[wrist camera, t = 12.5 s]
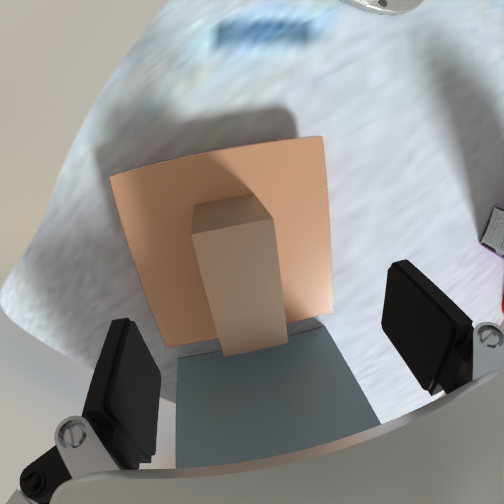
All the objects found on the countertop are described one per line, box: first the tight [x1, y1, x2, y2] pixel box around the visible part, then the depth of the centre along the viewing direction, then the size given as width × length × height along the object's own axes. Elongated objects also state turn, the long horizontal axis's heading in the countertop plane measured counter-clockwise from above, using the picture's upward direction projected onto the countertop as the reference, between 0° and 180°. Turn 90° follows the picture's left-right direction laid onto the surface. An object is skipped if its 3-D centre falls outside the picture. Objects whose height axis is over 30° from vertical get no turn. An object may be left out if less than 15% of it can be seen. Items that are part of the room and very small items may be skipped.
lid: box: [109, 136, 332, 357], centre depth 17 cm, size 13×13×8 cm
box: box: [176, 326, 381, 469], centre depth 20 cm, size 13×13×14 cm
